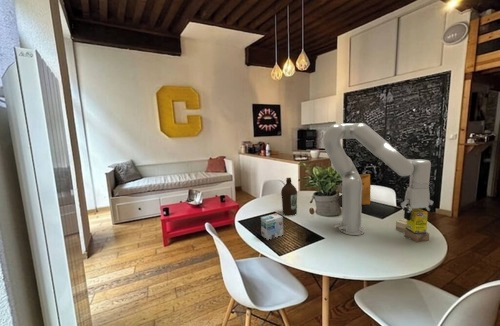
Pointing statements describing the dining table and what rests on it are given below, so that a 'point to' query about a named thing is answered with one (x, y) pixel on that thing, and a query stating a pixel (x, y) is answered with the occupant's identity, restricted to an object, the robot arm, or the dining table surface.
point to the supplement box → (417, 221)
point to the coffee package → (365, 189)
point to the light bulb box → (272, 226)
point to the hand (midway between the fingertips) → (415, 218)
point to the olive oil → (289, 198)
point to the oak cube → (401, 225)
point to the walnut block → (416, 236)
